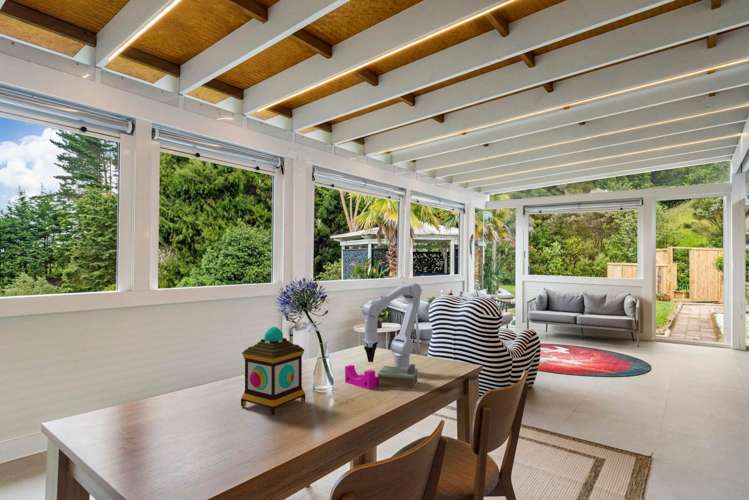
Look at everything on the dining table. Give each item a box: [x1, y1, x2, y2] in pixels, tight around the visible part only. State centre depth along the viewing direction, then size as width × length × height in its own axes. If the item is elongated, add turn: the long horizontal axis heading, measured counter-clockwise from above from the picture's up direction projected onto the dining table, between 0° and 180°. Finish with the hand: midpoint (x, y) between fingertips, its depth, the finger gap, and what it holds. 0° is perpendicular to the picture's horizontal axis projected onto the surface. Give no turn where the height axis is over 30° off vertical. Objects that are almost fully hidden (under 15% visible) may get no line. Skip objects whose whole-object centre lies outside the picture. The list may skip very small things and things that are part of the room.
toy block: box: [344, 364, 379, 391], centre depth 189 cm, size 15×6×8 cm, turn 47°
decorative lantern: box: [240, 326, 306, 417], centre depth 163 cm, size 20×20×30 cm
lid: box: [377, 363, 419, 379], centre depth 188 cm, size 13×16×3 cm
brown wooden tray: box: [378, 372, 418, 391], centre depth 188 cm, size 12×15×5 cm
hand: (371, 359), depth 194 cm, fingers open, 7 cm apart
